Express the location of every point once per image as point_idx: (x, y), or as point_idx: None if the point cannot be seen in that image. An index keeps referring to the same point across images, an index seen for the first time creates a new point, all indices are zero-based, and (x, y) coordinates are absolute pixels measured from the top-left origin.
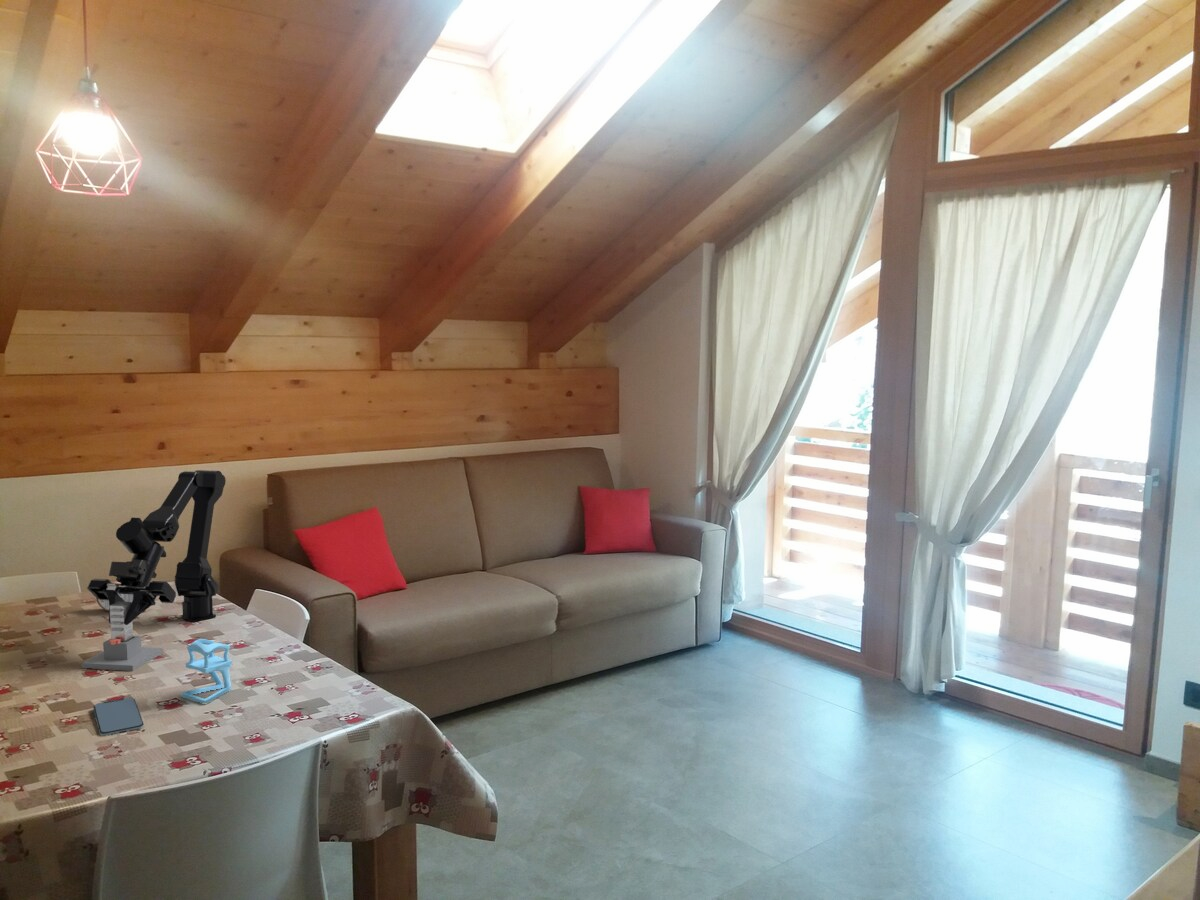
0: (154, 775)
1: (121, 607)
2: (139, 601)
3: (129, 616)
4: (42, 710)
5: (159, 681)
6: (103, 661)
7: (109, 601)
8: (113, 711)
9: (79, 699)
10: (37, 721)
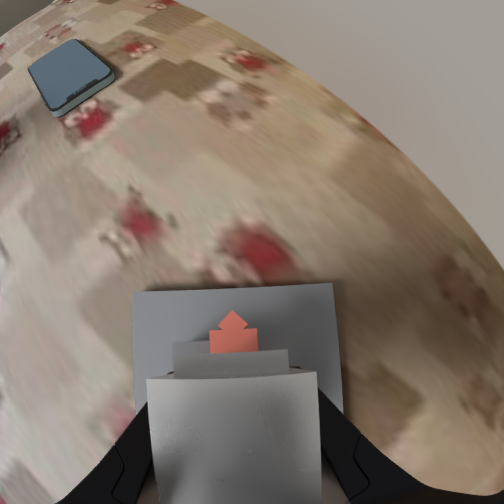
0: (16, 31)
1: (171, 379)
2: (65, 500)
3: (145, 403)
4: (213, 59)
5: (37, 229)
6: (266, 314)
7: (401, 474)
8: (72, 69)
9: (171, 101)
10: (191, 37)
